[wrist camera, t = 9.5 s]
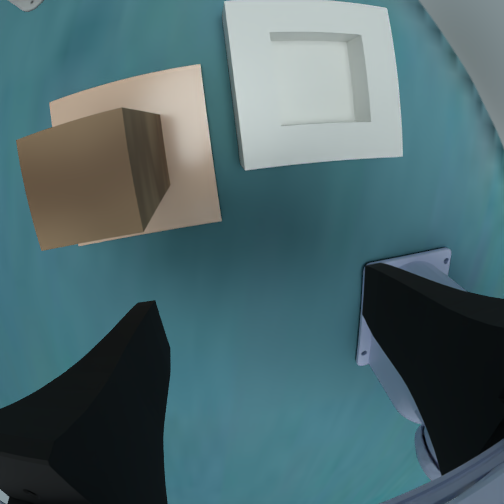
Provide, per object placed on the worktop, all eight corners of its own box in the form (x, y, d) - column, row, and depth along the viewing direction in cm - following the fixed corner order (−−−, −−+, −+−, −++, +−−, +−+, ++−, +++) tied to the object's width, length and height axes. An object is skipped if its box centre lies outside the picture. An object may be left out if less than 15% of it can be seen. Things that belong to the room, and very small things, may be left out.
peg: (170, 185, 17) (143, 232, 10) (104, 197, 17) (41, 250, 10) (160, 114, 16) (121, 107, 8) (91, 130, 15) (16, 140, 8)
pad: (221, 218, 19) (221, 221, 18) (82, 242, 18) (78, 246, 18) (200, 65, 15) (200, 64, 15) (53, 102, 15) (49, 102, 14)
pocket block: (381, 151, 19) (402, 156, 16) (240, 164, 18) (245, 170, 16) (367, 18, 15) (386, 8, 13) (222, 16, 14) (224, 1, 12)
